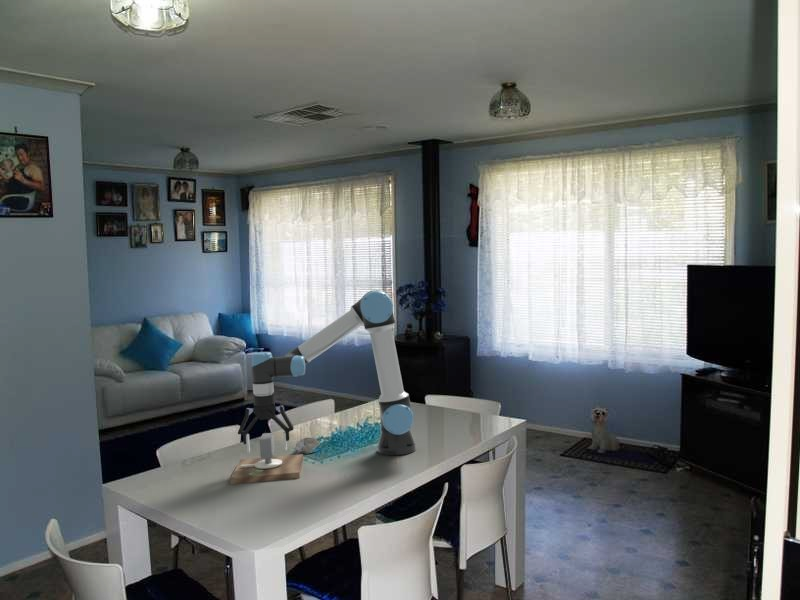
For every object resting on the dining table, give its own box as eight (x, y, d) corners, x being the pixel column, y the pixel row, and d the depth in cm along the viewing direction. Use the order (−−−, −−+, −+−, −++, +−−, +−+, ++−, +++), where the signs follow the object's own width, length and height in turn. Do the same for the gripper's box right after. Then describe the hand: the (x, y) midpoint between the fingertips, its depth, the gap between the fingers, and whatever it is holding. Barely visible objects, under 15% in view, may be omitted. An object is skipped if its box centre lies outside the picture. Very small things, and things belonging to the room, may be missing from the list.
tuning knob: (283, 459, 241) (281, 432, 240) (280, 467, 231) (279, 438, 230) (243, 463, 239) (241, 435, 239) (239, 471, 229) (237, 441, 229)
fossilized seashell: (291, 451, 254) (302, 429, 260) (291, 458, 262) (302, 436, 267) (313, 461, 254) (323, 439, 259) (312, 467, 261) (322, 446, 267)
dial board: (303, 459, 248) (303, 453, 248) (299, 477, 224) (299, 471, 224) (241, 464, 246) (240, 459, 246) (230, 484, 222) (230, 477, 222)
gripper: (298, 390, 239) (301, 445, 240) (231, 394, 237) (234, 451, 238) (297, 393, 232) (300, 451, 232) (227, 398, 229) (231, 456, 230)
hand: (267, 451), depth 235 cm, fingers open, 13 cm apart
